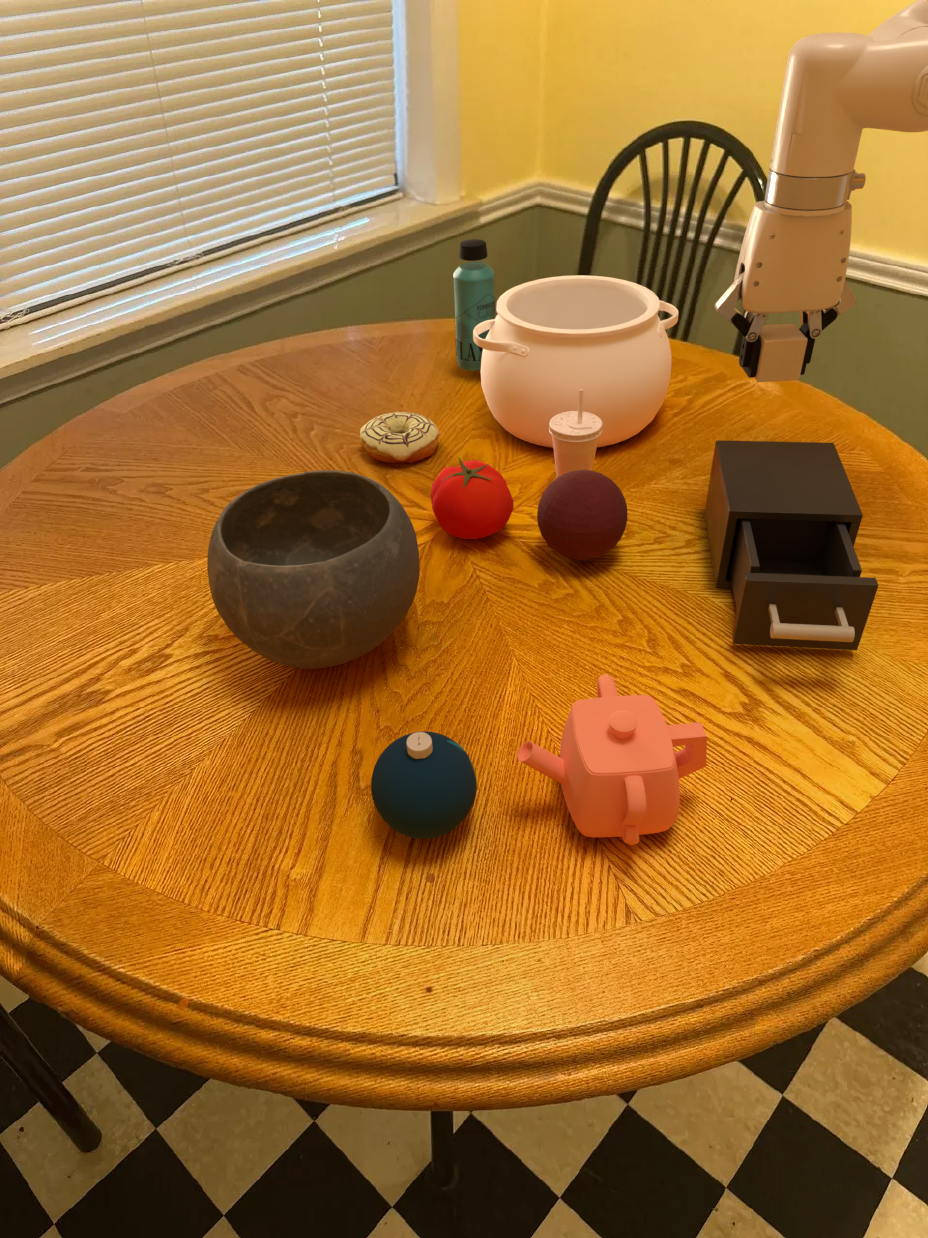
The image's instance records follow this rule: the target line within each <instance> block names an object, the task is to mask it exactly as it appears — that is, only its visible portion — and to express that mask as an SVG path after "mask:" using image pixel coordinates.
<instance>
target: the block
mask: <svg viewBox="0 0 928 1238" xmlns="http://www.w3.org/2000/svg"><path fill="white" fill-rule="evenodd" d="M798 328H799V327H798V326H797V325H796V324H795V323H778V324H763V326H762V329H761V331H760V334H759V340H760V342H761V350H760V356H759V362H758V367H757V373H756V376H755V377H754V379H755V381H756V383H769V382H770V383H771V382H788V381H800V379H801V378H800V377H801V375H800V373H801V369H802V364H803V359H804V354H805V350H806V345H807V340H808V339H807V338H806V337H805V336H804V335H803V333H802V332H801V331H800V330H799V329H798Z"/></svg>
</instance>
